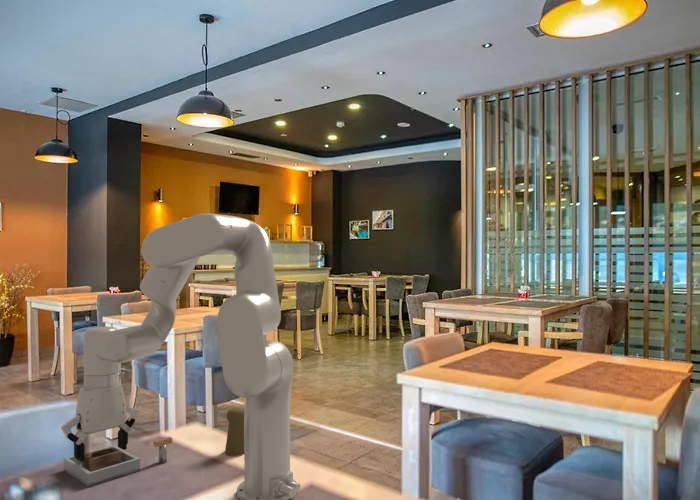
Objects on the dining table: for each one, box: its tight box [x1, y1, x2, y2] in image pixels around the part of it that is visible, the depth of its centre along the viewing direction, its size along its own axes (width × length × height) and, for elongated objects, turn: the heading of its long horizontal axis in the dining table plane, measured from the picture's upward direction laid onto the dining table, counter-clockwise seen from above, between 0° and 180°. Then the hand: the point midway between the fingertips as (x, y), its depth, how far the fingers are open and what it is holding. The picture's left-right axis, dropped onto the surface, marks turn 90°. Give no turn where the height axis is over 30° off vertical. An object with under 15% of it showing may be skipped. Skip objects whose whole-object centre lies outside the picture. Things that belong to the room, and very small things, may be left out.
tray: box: [63, 444, 141, 488], centre depth 123 cm, size 14×12×3 cm
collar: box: [82, 446, 121, 472], centre depth 123 cm, size 7×5×4 cm
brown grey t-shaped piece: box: [152, 436, 173, 464], centre depth 128 cm, size 2×4×5 cm, turn 139°
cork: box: [224, 406, 245, 457], centre depth 135 cm, size 6×6×11 cm
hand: (101, 454), depth 123 cm, fingers open, 9 cm apart
